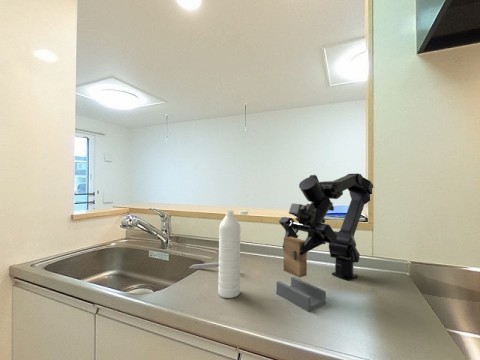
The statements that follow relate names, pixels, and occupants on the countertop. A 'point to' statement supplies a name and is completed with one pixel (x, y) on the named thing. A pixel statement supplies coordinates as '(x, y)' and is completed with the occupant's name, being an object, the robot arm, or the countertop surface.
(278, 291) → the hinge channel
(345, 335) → the countertop surface
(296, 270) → the door slab
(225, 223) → the water bottle
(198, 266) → the caliper
